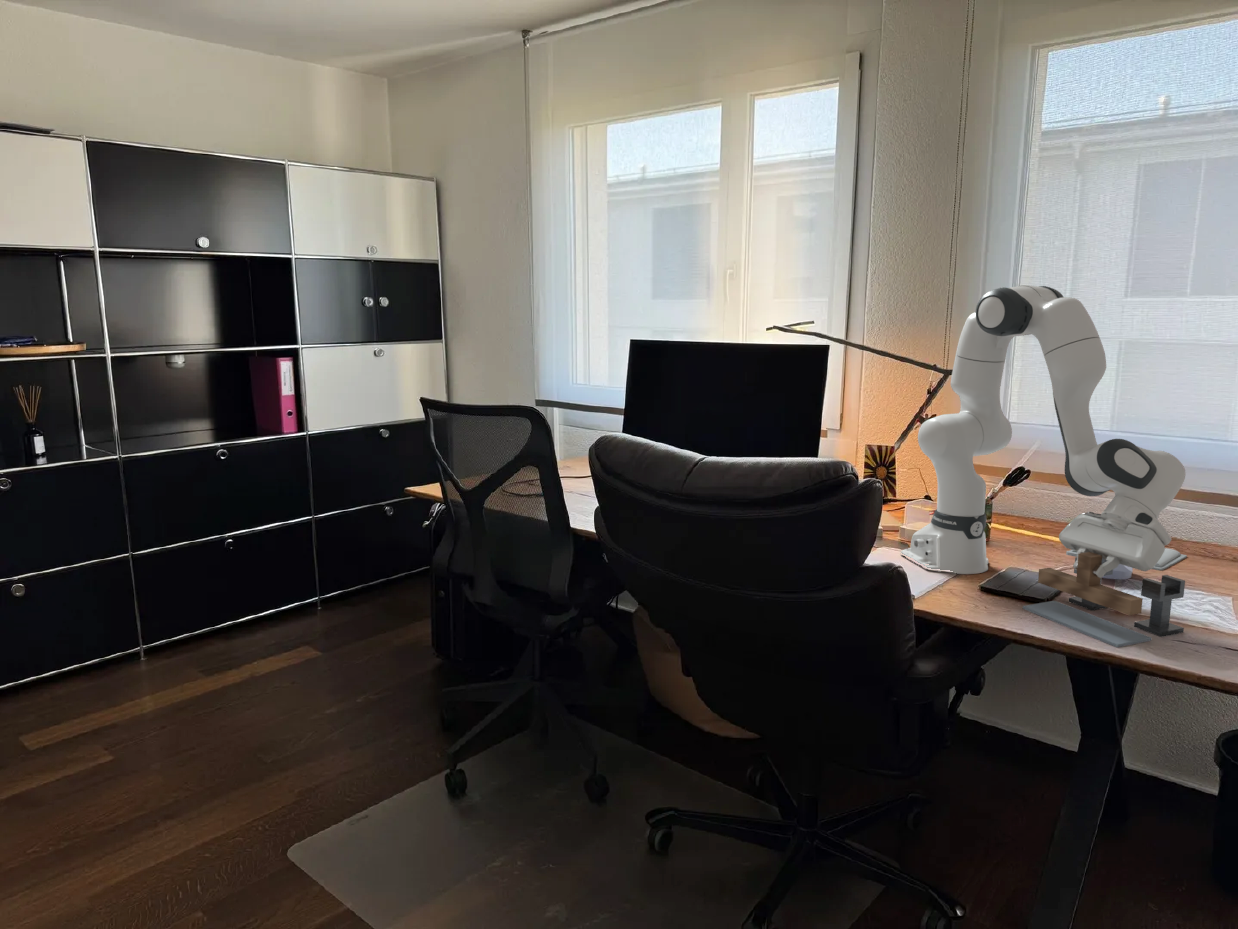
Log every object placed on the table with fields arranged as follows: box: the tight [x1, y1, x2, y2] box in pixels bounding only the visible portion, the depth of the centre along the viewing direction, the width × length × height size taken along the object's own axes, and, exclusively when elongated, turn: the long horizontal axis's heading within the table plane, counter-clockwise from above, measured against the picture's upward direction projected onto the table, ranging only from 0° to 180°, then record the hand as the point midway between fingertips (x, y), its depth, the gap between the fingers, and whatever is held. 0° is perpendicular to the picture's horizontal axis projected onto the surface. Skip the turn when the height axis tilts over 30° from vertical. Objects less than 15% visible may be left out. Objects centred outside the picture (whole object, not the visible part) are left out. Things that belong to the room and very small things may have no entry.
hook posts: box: [1068, 556, 1186, 638], centre depth 177 cm, size 22×7×10 cm, turn 20°
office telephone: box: [1065, 547, 1188, 571], centre depth 220 cm, size 23×3×20 cm
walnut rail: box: [1037, 552, 1144, 616], centre depth 172 cm, size 22×3×9 cm, turn 20°
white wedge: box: [1102, 564, 1134, 580], centre depth 204 cm, size 9×7×13 cm
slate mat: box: [1022, 600, 1152, 648], centre depth 174 cm, size 23×9×1 cm, turn 20°
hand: (1086, 572), depth 172 cm, fingers closed on walnut rail, 3 cm apart
